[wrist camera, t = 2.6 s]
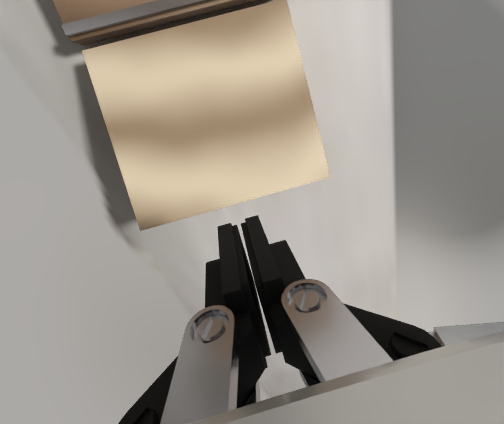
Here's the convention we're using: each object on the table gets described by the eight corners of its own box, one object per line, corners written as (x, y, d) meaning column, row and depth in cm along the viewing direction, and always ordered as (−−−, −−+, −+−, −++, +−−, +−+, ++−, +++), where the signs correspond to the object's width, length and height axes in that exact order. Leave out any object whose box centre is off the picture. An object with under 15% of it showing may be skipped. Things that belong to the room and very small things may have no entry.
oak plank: (95, 63, 17) (81, 50, 15) (281, 14, 17) (286, -2, 16) (148, 227, 18) (140, 230, 16) (322, 178, 18) (330, 177, 17)
